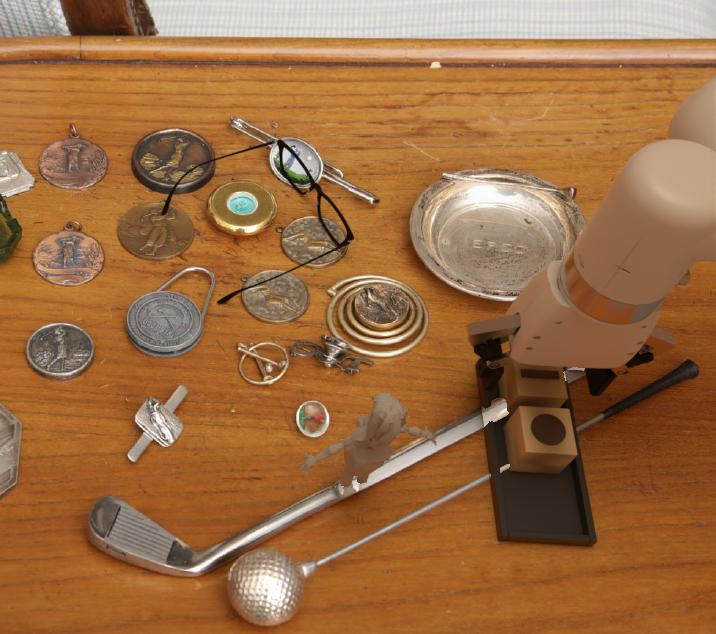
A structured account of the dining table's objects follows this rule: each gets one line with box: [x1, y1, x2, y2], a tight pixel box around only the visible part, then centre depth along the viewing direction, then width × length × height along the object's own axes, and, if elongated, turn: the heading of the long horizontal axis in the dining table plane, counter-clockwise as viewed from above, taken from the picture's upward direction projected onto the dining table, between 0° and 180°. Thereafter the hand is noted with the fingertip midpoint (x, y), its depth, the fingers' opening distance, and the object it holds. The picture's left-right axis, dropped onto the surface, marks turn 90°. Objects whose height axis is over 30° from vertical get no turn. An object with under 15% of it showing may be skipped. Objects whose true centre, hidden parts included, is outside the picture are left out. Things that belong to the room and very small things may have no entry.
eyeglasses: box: [161, 138, 355, 305], centre depth 97 cm, size 16×16×4 cm
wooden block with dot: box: [503, 406, 578, 474], centre depth 83 cm, size 4×4×5 cm
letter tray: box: [474, 357, 598, 548], centre depth 85 cm, size 8×18×2 cm, turn 176°
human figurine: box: [298, 391, 438, 488], centre depth 76 cm, size 12×4×18 cm, turn 103°
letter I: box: [498, 361, 568, 417], centre depth 86 cm, size 4×4×5 cm
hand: (538, 379), depth 85 cm, fingers open, 9 cm apart
